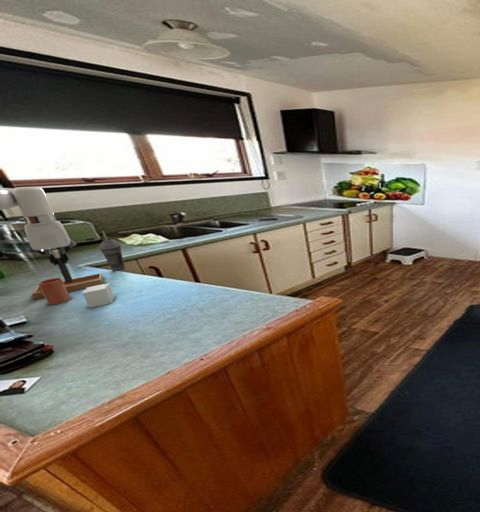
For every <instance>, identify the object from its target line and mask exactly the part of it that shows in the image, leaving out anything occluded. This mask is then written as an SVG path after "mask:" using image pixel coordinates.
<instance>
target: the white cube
mask: <svg viewBox="0 0 480 512" xmlns="http://www.w3.org/2000/svg"><path fill="white" fill-rule="evenodd" d="M82 295H83V297H84V300H85V302H86V304H87V306H88V308H89V309H90V308H94V307H100V306H103V305H108V304H112V303H113V301H114V299H115V295H114V292H113V289H112V288H111V284H110V282H108V283H103V284H101V285H96V286H92V287H87V288H84V290H83V292H82Z"/></svg>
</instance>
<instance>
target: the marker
mask: <svg viewBox="0 0 480 512" xmlns="http://www.w3.org/2000/svg"><path fill="white" fill-rule="evenodd" d="M50 251H51V250H50ZM51 253H52V254H53V256H54V258H55V260H56V262H57V266H58V268H59V271H60V273H61V275H62V277H63V279H64V281H65V282H66V283H70V282H73V280H72V279H73V278H72V275H71V273H70V271H69V270H68V267H67V263H64V262H63V260H62V257H61V251H60V249H54V250H52V251H51Z"/></svg>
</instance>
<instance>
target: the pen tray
mask: <svg viewBox="0 0 480 512" xmlns="http://www.w3.org/2000/svg"><path fill="white" fill-rule="evenodd" d="M102 273H103V272H100V273H96V274H91V275H90V274H89V275H85V276H81V277H77V278H76V277H75V278H72V280H73V282H70V283H66V282H65V280H63V282H64V284H65V286H66V288H67V291H68V293H69V292H75V291H78V290H82V289H86V288H87V287H92V286H97V285H102V284H104V275H103V274H102ZM31 296H32V298H33V300H37V299H42V298H45V296H44V294H43V292H42V290H41V288H40V286H39V285H37V286H36V287H35V288H34V290H33V292H32V293H31Z"/></svg>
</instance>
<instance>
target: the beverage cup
mask: <svg viewBox="0 0 480 512" xmlns="http://www.w3.org/2000/svg"><path fill="white" fill-rule="evenodd" d="M101 232H102V234H103V237H104V240H103V241H101V242H100V245H99V250H100V252H101V253H102V255H103V256H104V258H105V260H106V262H107V264H108V266H109V267H110V269H111V270H112V272H113V273H116V272H121V271H125V269H126V267H125V261H124V258H123V254H122V246H121V244H120V243H119V241H117V240H115V239H108V237H107V236H106V233H105V231H104V230H101Z"/></svg>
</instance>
